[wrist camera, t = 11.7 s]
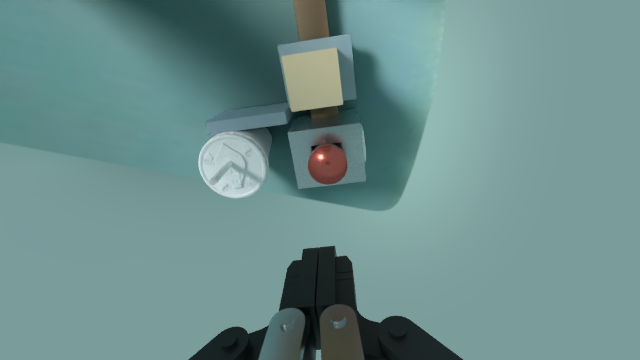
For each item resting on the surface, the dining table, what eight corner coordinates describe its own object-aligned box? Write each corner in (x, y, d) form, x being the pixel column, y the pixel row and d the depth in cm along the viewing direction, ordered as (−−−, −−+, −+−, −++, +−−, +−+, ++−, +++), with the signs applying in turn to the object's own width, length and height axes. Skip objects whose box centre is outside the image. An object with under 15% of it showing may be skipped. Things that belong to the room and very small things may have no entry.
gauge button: (315, 160, 35) (311, 186, 28) (310, 130, 33) (304, 150, 27) (346, 156, 34) (349, 182, 28) (342, 125, 33) (345, 145, 26)
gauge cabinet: (304, 164, 37) (298, 189, 31) (295, 117, 35) (287, 132, 29) (363, 157, 37) (369, 180, 30) (358, 108, 34) (364, 122, 28)
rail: (304, 116, 35) (302, 120, 33) (276, -51, 29) (272, -59, 27) (347, 110, 35) (348, 114, 32) (328, -61, 28) (328, -70, 26)
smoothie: (275, 107, 35) (240, 141, 22) (289, 158, 37) (265, 216, 24) (223, 118, 36) (160, 158, 23) (240, 168, 38) (192, 229, 25)
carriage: (227, 121, 35) (182, 151, 25) (210, 57, 32) (151, 61, 22) (355, 103, 34) (365, 127, 23) (348, 35, 31) (356, 28, 21)
